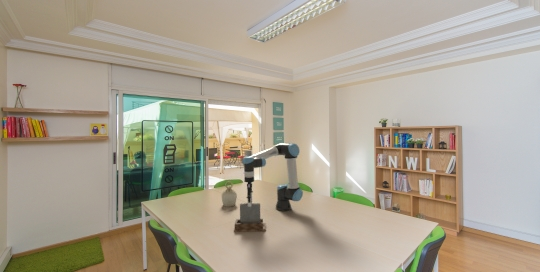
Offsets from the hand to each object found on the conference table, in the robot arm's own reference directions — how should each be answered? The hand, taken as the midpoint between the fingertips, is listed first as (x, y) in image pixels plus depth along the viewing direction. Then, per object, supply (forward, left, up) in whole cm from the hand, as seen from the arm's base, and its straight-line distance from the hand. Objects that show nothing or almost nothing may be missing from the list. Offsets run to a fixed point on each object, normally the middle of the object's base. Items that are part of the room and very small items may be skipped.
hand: (250, 203), depth 182 cm
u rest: (0, 0, -19) cm, 19 cm away
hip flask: (0, 0, -18) cm, 18 cm away
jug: (+25, -60, -20) cm, 68 cm away
